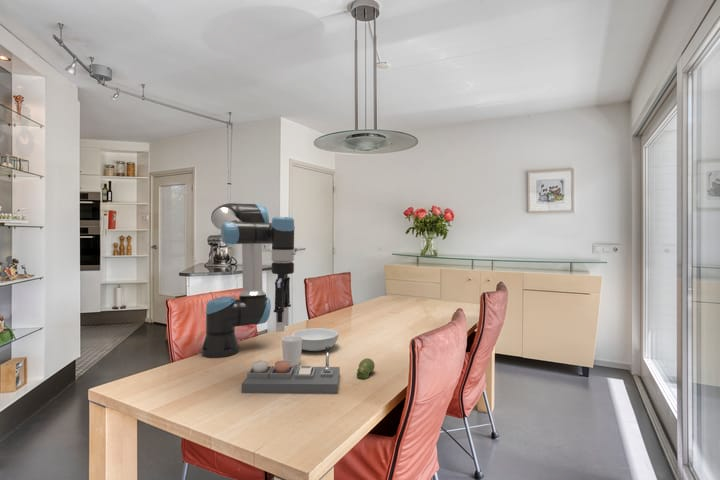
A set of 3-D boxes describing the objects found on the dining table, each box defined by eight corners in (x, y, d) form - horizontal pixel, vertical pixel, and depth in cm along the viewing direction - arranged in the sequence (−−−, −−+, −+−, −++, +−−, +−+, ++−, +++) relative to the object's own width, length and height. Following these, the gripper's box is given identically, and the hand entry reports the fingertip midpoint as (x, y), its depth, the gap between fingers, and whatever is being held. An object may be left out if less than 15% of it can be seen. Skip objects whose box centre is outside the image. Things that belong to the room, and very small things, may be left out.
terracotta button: (276, 367, 135) (276, 360, 135) (290, 368, 135) (290, 360, 135) (273, 373, 130) (273, 365, 130) (288, 373, 130) (288, 365, 130)
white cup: (297, 367, 148) (297, 341, 148) (278, 365, 150) (278, 340, 149) (304, 360, 156) (304, 336, 156) (286, 359, 157) (286, 335, 157)
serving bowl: (341, 342, 182) (341, 328, 182) (334, 357, 161) (334, 340, 161) (298, 340, 184) (298, 326, 184) (285, 354, 163) (285, 338, 163)
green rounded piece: (376, 357, 145) (367, 370, 135) (377, 370, 145) (367, 383, 136) (362, 355, 147) (352, 367, 137) (363, 367, 148) (353, 381, 138)
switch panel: (254, 374, 141) (254, 361, 140) (339, 375, 141) (339, 362, 141) (241, 392, 125) (241, 378, 124) (337, 393, 125) (337, 379, 125)
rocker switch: (300, 368, 135) (300, 365, 135) (311, 368, 135) (311, 365, 135) (298, 376, 130) (298, 373, 130) (310, 376, 130) (310, 374, 130)
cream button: (255, 367, 135) (255, 360, 135) (269, 367, 135) (269, 360, 135) (251, 372, 130) (251, 365, 130) (265, 373, 130) (265, 365, 130)
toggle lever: (323, 371, 133) (324, 346, 137) (330, 371, 133) (331, 346, 137) (323, 371, 131) (324, 345, 135) (330, 371, 131) (331, 345, 135)
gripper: (288, 264, 122) (288, 336, 122) (298, 259, 142) (297, 321, 142) (264, 264, 122) (264, 336, 122) (277, 259, 142) (277, 321, 142)
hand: (282, 328), depth 132 cm, fingers open, 7 cm apart
